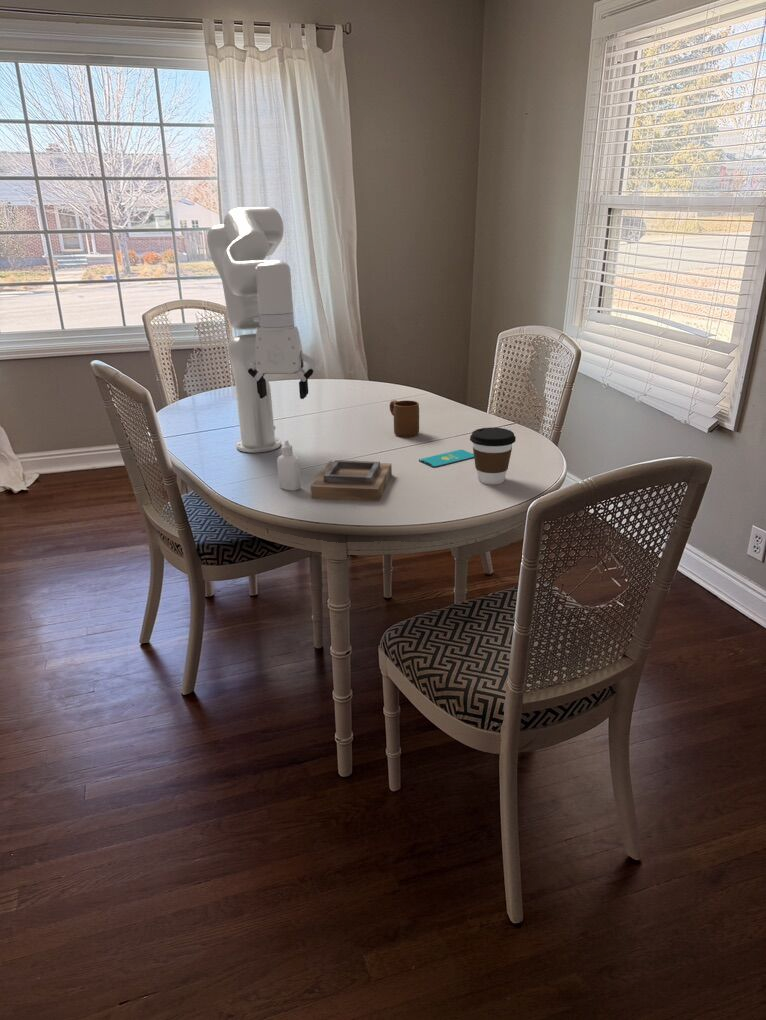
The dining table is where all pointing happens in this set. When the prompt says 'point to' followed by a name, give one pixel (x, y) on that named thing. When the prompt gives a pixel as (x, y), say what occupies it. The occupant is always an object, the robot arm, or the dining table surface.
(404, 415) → the mug
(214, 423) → the dining table surface
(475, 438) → the coffee cup
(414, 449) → the dining table surface
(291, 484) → the eye dropper bottle
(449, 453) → the smartphone
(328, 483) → the display stand
